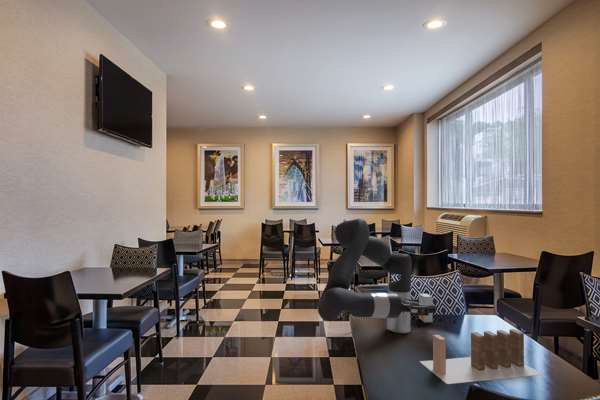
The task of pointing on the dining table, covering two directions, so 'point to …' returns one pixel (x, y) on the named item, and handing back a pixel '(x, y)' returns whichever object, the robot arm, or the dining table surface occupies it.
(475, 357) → the domino
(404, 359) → the dining table surface
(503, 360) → the domino
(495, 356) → the domino
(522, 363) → the domino
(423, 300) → the skincare box
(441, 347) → the loose domino
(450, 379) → the mat
